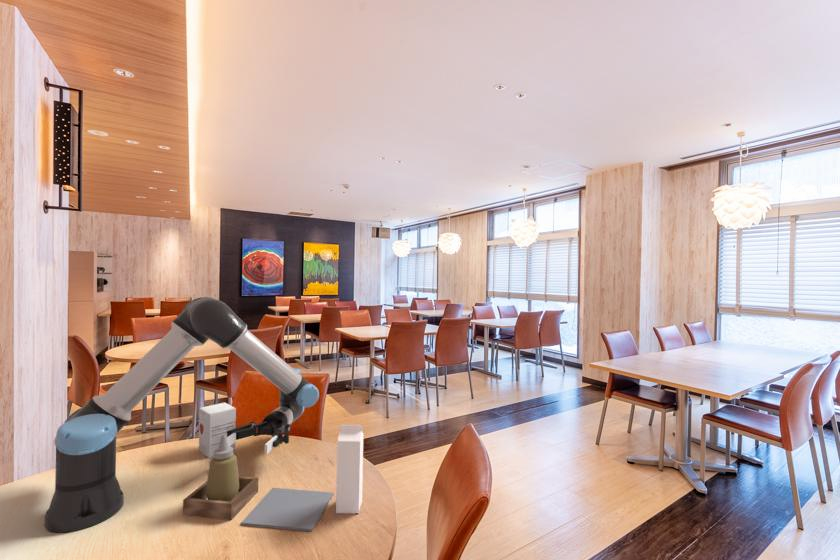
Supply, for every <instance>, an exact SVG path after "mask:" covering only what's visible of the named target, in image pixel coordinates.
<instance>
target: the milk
mask: <svg viewBox="0 0 840 560" xmlns="http://www.w3.org/2000/svg"><path fill="white" fill-rule="evenodd" d="M336 443H337V444H336V445H337V447H336V450H337V451H336V452H337V453H336V494H335V495H336V496H335V502H336V503H335V514H348V515H349V514H350V513H351V514H355V513H360V511H359V510H361V507H360V506H362V503H363V477H364V476H363V473H364V471H363V470H364V432H363V425H362V424H343V423H342V424H340V425H339V433H338V437H337V442H336Z"/></svg>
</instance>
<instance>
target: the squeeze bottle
mask: <svg viewBox="0 0 840 560" xmlns="http://www.w3.org/2000/svg"><path fill="white" fill-rule="evenodd" d="M239 476H240V475H239V467H238V457H237V455H235V454H234V450H233V448H232V447H230V446H229V445H228V441H227V437H226V435H223V436H222V437H221V441H220V445H219V448H217V449H216V450H214V457H212V458H210V461H209V467H208V476H207V488H206V496H207V500H218V501H231V500H232V499H233V498H234V497H235V496H236V495H237V494H238V493H239V492H238V490H239Z"/></svg>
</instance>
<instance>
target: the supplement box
mask: <svg viewBox="0 0 840 560" xmlns="http://www.w3.org/2000/svg"><path fill="white" fill-rule="evenodd" d="M198 412H199V414H198V415H199V417H198V419H199V422H198V423H199V424H198V425H199V426H198V430H199V431H198V452H200V453H202V454H203V455H205V457H207V458H209V459H212V458H214V450H216V449H217V448H219V445H220V441H221V437H222V436H223V435H226V437H227V431H229V430H232V429H235V428H236V424H237V423H236V421H237V417H236V416H237V415H236V414H237V413H236V412H237V407H234V406H232V405H231V404H229V403H227V402H225V401H224V402H221V403H216V404H212V405H208V406H202V407H199V411H198ZM230 447H232V448H233V451H235V450H236V442H235V443H233V444H232V445H231V446H230Z"/></svg>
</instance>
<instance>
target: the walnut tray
mask: <svg viewBox="0 0 840 560" xmlns="http://www.w3.org/2000/svg"><path fill="white" fill-rule="evenodd" d="M238 476H239V490H238V493H237V495H236V496H235V497H234V498H233V499H232V500H231V501H218V500H208V498H207V496H206V488H207V481H205V482H204V483H203V484H201V485H200V486H199V487H197V488H196V489H195V490H194V491H192V492H191V493H190V494H189V495H187V496H186V497H185V498H184V499H183V500H182V517H183V516H184V517H196V518H204V519H216V520H225V521H227V520H228V521H232V520H233V519H234V518H235V517H236V515H238V514H239V513H240V511H242V509H244V508H245V507H246V506H247V504H248V503H249V502H250V501H251V500H252V499H253V498H254V497H255V496H256V495H257V494H258V493H259V477H254V476H243V475H238Z"/></svg>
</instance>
